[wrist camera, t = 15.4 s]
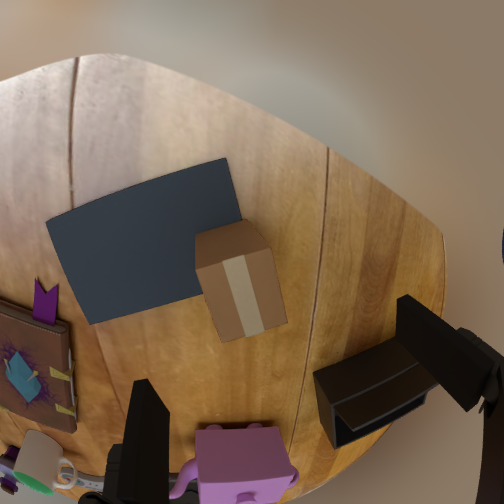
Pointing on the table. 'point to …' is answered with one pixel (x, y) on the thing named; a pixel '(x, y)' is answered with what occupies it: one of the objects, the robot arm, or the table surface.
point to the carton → (361, 388)
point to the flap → (385, 398)
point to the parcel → (239, 280)
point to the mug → (41, 463)
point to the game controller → (83, 479)
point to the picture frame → (190, 497)
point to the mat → (142, 240)
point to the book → (37, 363)
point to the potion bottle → (9, 470)
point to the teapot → (238, 466)
